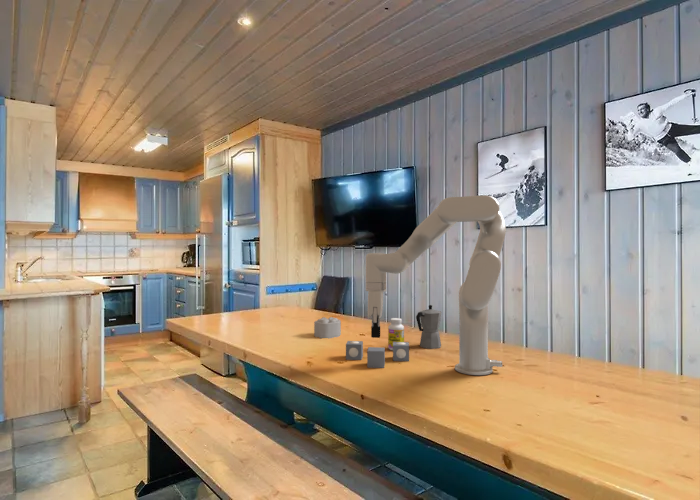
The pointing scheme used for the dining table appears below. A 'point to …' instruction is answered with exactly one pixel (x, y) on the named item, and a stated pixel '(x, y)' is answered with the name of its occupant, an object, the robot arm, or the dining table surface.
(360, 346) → the badge block
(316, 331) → the lumpy-topped squat cylinder
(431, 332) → the coffeepot
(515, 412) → the dining table surface
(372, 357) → the plain block
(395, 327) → the supplement bottle
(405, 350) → the badge block
